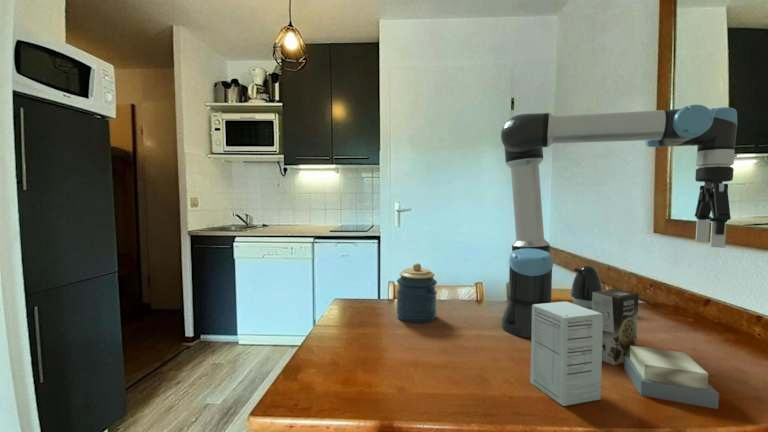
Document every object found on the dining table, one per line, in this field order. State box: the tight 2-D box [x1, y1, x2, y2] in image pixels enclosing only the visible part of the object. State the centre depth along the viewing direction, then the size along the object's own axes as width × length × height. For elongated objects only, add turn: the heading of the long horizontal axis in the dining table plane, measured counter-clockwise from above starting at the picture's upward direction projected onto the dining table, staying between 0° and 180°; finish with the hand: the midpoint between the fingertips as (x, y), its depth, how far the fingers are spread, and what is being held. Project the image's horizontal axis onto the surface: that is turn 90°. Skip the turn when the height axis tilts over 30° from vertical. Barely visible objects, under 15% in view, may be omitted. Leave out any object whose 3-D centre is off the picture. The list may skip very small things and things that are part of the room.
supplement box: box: [529, 301, 603, 407], centre depth 71 cm, size 10×9×17 cm
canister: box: [396, 262, 438, 324], centre depth 115 cm, size 13×13×18 cm
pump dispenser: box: [570, 264, 604, 310], centre depth 128 cm, size 10×10×15 cm
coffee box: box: [591, 288, 640, 366], centre depth 87 cm, size 9×6×16 cm
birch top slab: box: [630, 345, 709, 389], centre depth 73 cm, size 10×10×3 cm
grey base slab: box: [624, 356, 720, 410], centre depth 73 cm, size 12×12×4 cm
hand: (709, 244), depth 97 cm, fingers open, 13 cm apart
